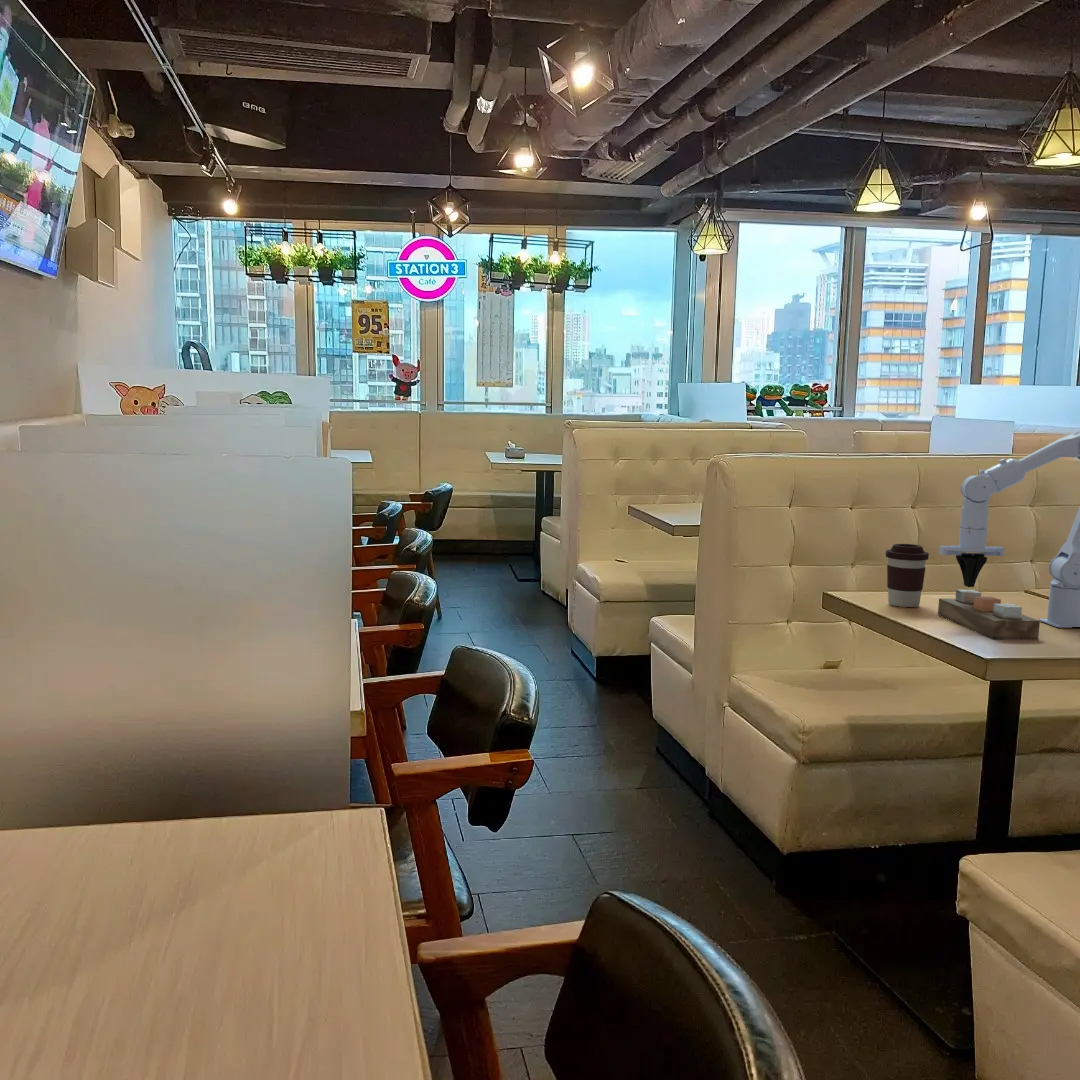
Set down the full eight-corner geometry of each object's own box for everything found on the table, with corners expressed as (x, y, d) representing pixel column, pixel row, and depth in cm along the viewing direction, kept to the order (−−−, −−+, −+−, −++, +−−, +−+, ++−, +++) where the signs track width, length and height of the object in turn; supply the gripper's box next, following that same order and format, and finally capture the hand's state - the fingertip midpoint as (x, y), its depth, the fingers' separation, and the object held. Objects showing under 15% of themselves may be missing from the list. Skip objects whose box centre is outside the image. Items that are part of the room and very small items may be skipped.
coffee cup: (898, 609, 241) (902, 548, 240) (874, 602, 251) (878, 542, 249) (933, 608, 244) (938, 547, 242) (908, 601, 254) (912, 542, 252)
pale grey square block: (1010, 617, 217) (1011, 603, 217) (1020, 621, 213) (1021, 607, 213) (993, 617, 217) (994, 603, 216) (1002, 621, 213) (1003, 607, 212)
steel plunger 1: (971, 602, 234) (972, 589, 234) (980, 605, 230) (981, 592, 230) (955, 602, 234) (956, 589, 233) (963, 605, 230) (964, 592, 229)
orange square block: (990, 609, 226) (991, 596, 225) (999, 613, 222) (1000, 599, 221) (973, 609, 225) (974, 596, 225) (982, 613, 221) (983, 599, 221)
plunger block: (978, 615, 237) (980, 598, 236) (1038, 639, 212) (1039, 620, 211) (937, 615, 236) (939, 598, 235) (992, 639, 211) (994, 620, 211)
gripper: (995, 526, 234) (990, 583, 236) (934, 525, 233) (930, 583, 235) (1011, 530, 227) (1006, 589, 229) (949, 529, 226) (944, 588, 228)
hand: (969, 586), depth 231 cm, fingers closed
